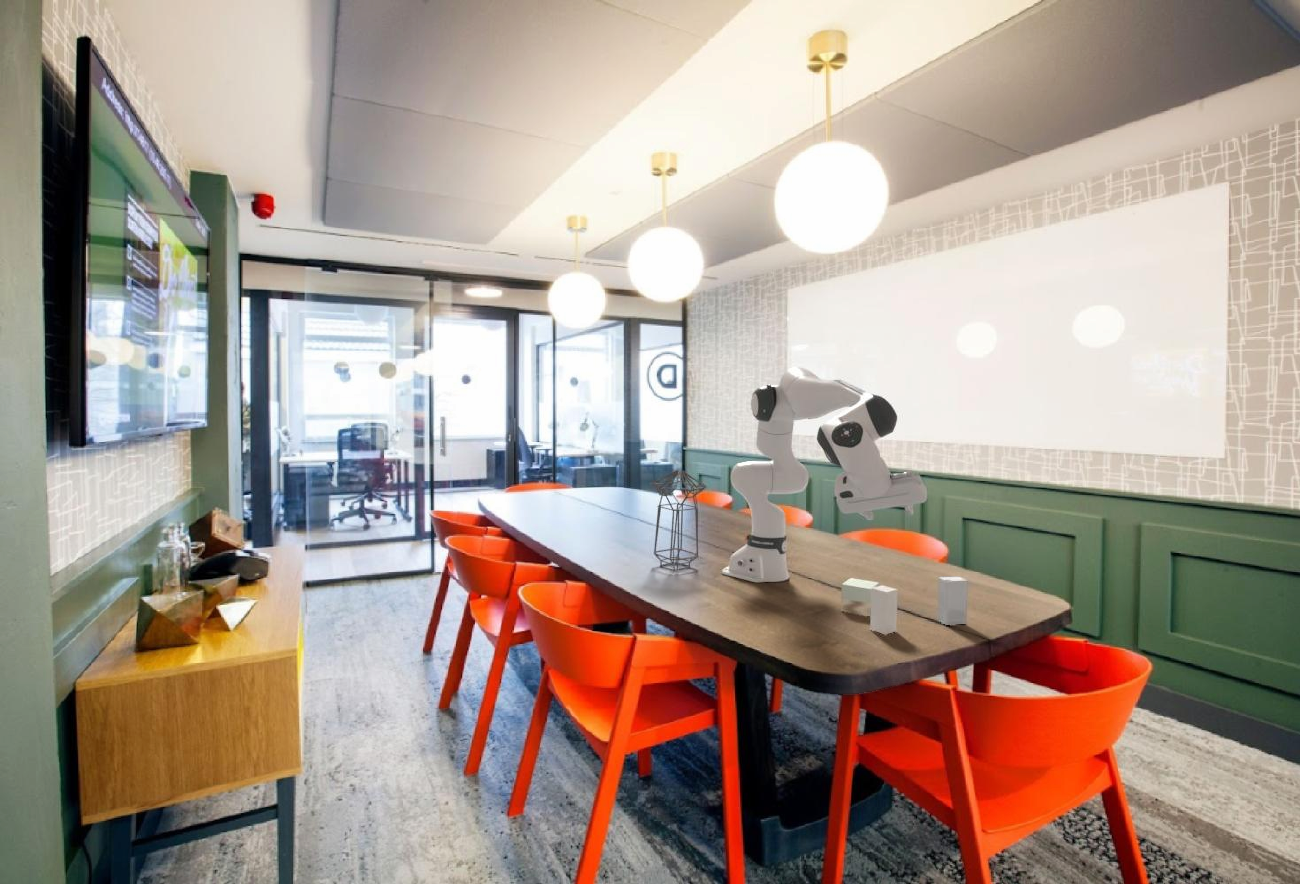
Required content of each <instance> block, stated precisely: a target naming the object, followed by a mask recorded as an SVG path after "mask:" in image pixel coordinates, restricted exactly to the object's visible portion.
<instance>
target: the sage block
mask: <svg viewBox="0 0 1300 884" xmlns="http://www.w3.org/2000/svg"><path fill="white" fill-rule="evenodd" d="M877 586H880V582H877V581H872V580H866V579H865V580H864V579H860V578H859V579H858V578H854V577H853V578H852V577H850V578H849V579H847V580H846V581H844V582H843V583H841V596H840V599H841V598H842V599H848V600H853V601H859V602H864V603H870V604H871V588H873V587H877Z"/></svg>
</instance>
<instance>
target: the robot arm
mask: <svg viewBox="0 0 1300 884" xmlns="http://www.w3.org/2000/svg"><path fill="white" fill-rule="evenodd" d="M750 407H751V408H750V409H751V411H752V415H753V417H754V418H755V419H756V420H757V421H758V422H757V423H758V424H757V432H756V441H755V444H756V448H757V450H758V451H759V453H761V454H762V455H763V456H765V457H766V458H769V459H770V460H750V461H749V460H748V461H743V462H739V463H738V462H737V463H736V464H735V465H734V466H733V468H732V470H731V472H730V483H731V486H732V487H733V488H734V490H735V491H736V492H737V493H739V494H740V495H741V496H742V497H743V498H744V499H745V501H746V502H747V504H748V507H749V509H750V517H751V533H749V534H748V535H746V536H744V538H745V539H744V540H745V541H746V544H745V545H743V546H742V547H741V548H739V549H737V550H736V551H735V552H734V553H732V555H731V556H730V558H729V562H728V566H726V567H724V568H723V569H722V572H721V574H723V575H725V576H728V577H733V578H737V579H741V580H745V581H749V582H753V583H766V582H768V583H769V582H770V583H775V582H776V583H777V582H784V581H787V580H788V579H790V574H789V571H788V570H789V569H788V564H787V557H786V556H787V555H786V552H787V545H788V544H787V542H788V541H787V535H786V513H785V511H784V510H783V509H782V508H781V507H780V506H778V505H777V504H774V503H773V502H771V501H769V498H768V496H769V495H791V494H797V493H802V492H804V491H805V490H806V488H807V486H808V483H809V480H810V479H809V478H810V475H809V472H808V470H807V467H806V466H805V465H804V464H803V463H801V462H800V461H798V459H797V458H796V457H795V455H794V453H793V448H792V447H793V445H792V443H793V431H794V423H795V422H794V421H801V420H806V419H807V420H813V419H818V418H821V417H824V416H826V415H828V414H830V413H832V412H835V411H837V410H840V409H843V408H847V409H845V410H844V411H842V412H841V413H839V414H838V415H835V416H834V417H832V418H831V419H829V420H827V421H826V422H824V423H823V424H822V425H820V426H819V428H818V429H817V435H816V440H817V443H818V444H819V446H820V447H821V448H822V450H823V452H824V454H825V457H826V458H827V460H828V461H829V463H830V464H831V463H832V464H833V465H836V466H838V467H841V468H842V469H843V470H844V471H843V472H840V473H838V474H837V475H836V477H835V482H834V496H835V498H836V500H835V501H836V504H837V507H838V509H839V511H840V512H841V513H842V514H845V515H848V514H854V513H855V514H856V513H858V514H859V515H861V516H862V517H864V518H865V519H866V520H867V521H873V520H875V516H874V515H875V514H874V512H873V511H875V510H883V509H888V508H889V509H890V508H896V507H901V506H902V507H903V506H904V508H905V509H904V512H905V514H906V515H907V516H909V515H911V516H912V515H914V506H915V504H924V503H925V502H926V501H927V500H928V490H927V489H928V488H927V487H926V486H925V484H924V482H923V478H922V477H921V475H920V474H919V473H916V472H912V471H906V472H903V473H893V474H892V473H891V471H890V470H889V467H888V466H887V464H886V463H887V462H886V461H885V460H884V459H883V458H882V457H881V454H880V453H881V452H880V450H879V448H878V446H877V443H876V442H875V441H877V440H879V439H881V438H883V437H886V436H888V435H890V434H892V433H893V432H894V430H895V428H896V425H897V422H898V415H897V413H896V410H895V409H894V407H893V406H892V404H891V403H890V402H889V401H888V400H887V399H886V398H884V397H883V396H880V395H878V394H873V393H872V394H871V393H870V392H867V391H865V390H863V389H861V388H859V387H857V386H856V385H854V384H851V383H849V382H847V381H844V380H842V379H822V378H820V377H818V375H816V374H815V373H814V372H813V371H810V370H808V369H806V368H803V367H801V366H796V367H791V368H789V369H787V370H786V371H785V372H784V373H783V374H782V375H781V378H780V381H779V384H773V385H772V384H767V385H764V386H760V387H758V388H756V389H755V390H754V392H753V393H752V395H751V400H750Z"/></svg>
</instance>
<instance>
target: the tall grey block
mask: <svg viewBox="0 0 1300 884" xmlns="http://www.w3.org/2000/svg"><path fill="white" fill-rule="evenodd" d="M898 590H899V589H898V588H897V589H896V588H894V587H889V586H885V585H883V584H882V585H879V586H877V587H873V588H871V616H870V622H869V623H870V625H869V627H870V628H869V629H870V630H869V631H871V630H872V631H871V632H874V631H877V632H880V633H882V634H888V633H891V632H894V631H896V632H897V623H898V622H897V621H898V593H899V592H898ZM882 634H881V635H882Z"/></svg>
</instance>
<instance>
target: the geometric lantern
mask: <svg viewBox="0 0 1300 884" xmlns="http://www.w3.org/2000/svg"><path fill="white" fill-rule="evenodd" d="M668 477H669V478H668ZM665 479H666V480H665ZM662 480H665V481H664V482H663V483H659V482H660V481H662ZM693 480H694V481H695V482H697V485H696V484H695V483H694V482H693ZM681 483H682V485H683V486H684V487H682V486H681ZM678 484H679V488H677V487H678ZM698 484H700V485H698ZM649 485H652V486H653V488H654V489H656V491H657V492H658V494H659V495H658V496H660V501H659V504H658V505H657V506H656V507H657V513H656V514H657V517H656V527H655V528H656V529H655V539H654V549H653V555H654V556H655V557H656V558H657V559H658V560H659V562H660V563H659V567H660V568H663V569H666V570H669V571H675V572H676V571H680V570H681V571H682V570H684V569H688V568H691V563H692V562H693V561H695V559H697V558H699V507H698V499H697V495H699V493H701V492H702V491H704V490H705V489H706V488H707V487H708V485H706V484H704V483H703V482H701V481H700V480H698V479H697V478H695V477H693V475H690V474H688V472H686V471H684V470H682V469H676V470H674V471H672V472H669V473H668V474H666V475H664V476H663V477H662V476H661V477H660V478H659V479H656V480H654V481H653V482H650V484H649ZM672 485H673V487H671V486H672ZM688 486H690V488H689V487H688ZM674 491H681V493H683V495H684V496H685V497H684V499H683V500H682V502H679V501H678V499H677V498H676V496H675V495H674V493H673V492H674ZM685 491H686V492H685ZM690 494H692V495H690ZM669 495H672V496H673V498H674V500H676V502H674V503H671V501H670V499H669V497H668V496H669ZM689 495H690V496H689ZM663 497H665V498H666V500H667V502H668V503H665V504H662V500H663ZM687 499H693V504H694V505H689V504H685V502H686V500H687ZM672 505H676V509H675V508H673V506H672ZM664 506H670V508H669V507H664ZM684 506H686V507H690V508H686V509H685V508H684ZM691 507H692V508H691ZM662 509H665V510H669V511H672V518H671V520H672V521H671V534H670V536H671V537H670V548H666V549H661V550H657V544H658V543H657V541H658V537H659V527H660V526H659V525H660V518H661V510H662ZM691 510H694V511H695V513H694V514H695V515H694V516H695V536H696V537H695V538H696V539H695V545H696V553H695V552H693V551H690V550H686V549H683V522H684V521H683V520H684V519H683V517H684V514H683V513H684V511H691ZM675 513H676V514H675ZM680 513H681V516H680ZM680 518H681V519H680ZM674 521H675V522H674ZM674 523H675V524H674ZM674 525H675V526H674ZM676 535H677V547H676ZM673 536H674V537H673ZM675 550H676V551H677V555H676V556H675ZM668 551H669V557H667V556H664V555H661V554H659V553H662V552H668ZM681 551H682V552H685V553H688V554H691V555H694V556H688V557H683V558H682V557H681V558H680V552H681ZM660 557H661V558H662V559H661V558H660ZM666 560H668V561H670V562H668V561H666ZM679 561H686V562H681V563H680V562H679ZM662 562H663V563H664V564H662ZM666 565H672V566H673V568H670V567H666ZM681 565H682V566H685V567H680V568H679V566H681ZM675 568H676V569H675Z"/></svg>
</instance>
